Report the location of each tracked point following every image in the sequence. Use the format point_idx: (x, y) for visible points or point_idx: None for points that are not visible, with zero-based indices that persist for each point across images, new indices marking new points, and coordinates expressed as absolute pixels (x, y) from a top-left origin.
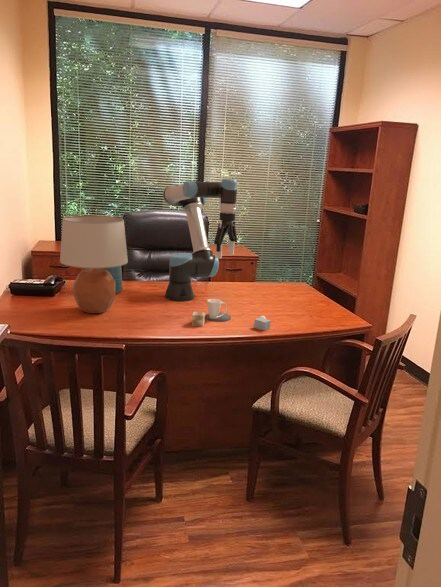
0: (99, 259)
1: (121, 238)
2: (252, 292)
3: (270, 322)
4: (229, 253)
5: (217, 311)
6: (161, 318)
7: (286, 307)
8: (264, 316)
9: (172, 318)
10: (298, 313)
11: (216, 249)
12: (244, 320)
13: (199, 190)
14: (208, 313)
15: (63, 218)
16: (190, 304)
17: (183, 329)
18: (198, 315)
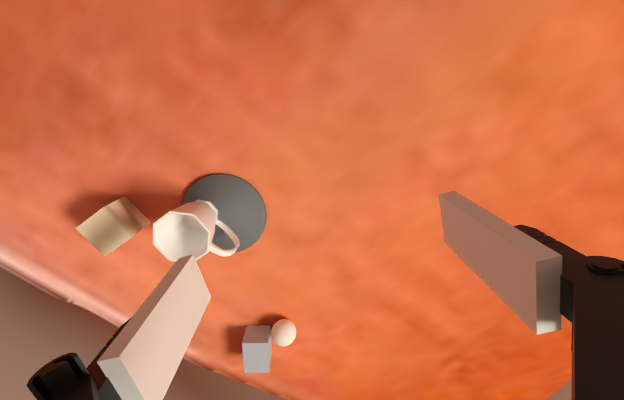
0: None
1: None
2: (604, 79)
3: (269, 368)
4: (444, 208)
5: (192, 241)
6: (42, 98)
7: None
8: (287, 344)
9: (79, 124)
10: (450, 329)
11: (114, 334)
12: (271, 278)
13: None
14: (216, 175)
15: None
16: (251, 31)
17: (55, 224)
18: (92, 244)
